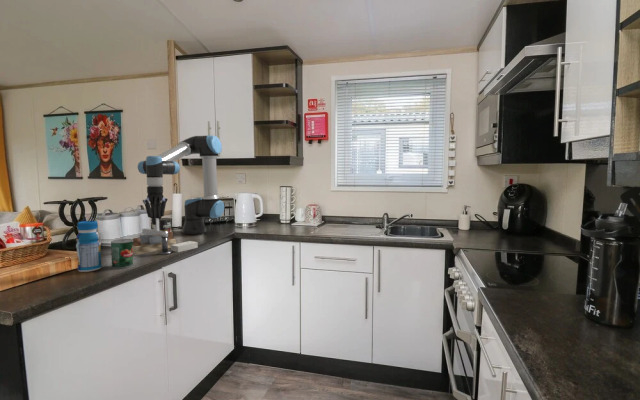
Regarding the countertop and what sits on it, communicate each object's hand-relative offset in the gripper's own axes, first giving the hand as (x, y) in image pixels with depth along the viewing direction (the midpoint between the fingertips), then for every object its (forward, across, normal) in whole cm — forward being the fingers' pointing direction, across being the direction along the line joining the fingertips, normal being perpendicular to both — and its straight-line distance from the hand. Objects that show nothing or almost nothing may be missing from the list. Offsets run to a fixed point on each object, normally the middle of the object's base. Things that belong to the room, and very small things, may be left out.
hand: (156, 230), depth 170 cm
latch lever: (+2, +4, +4) cm, 6 cm away
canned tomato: (+10, +27, +15) cm, 33 cm away
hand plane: (+10, +2, 0) cm, 10 cm away
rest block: (+10, -7, +13) cm, 18 cm away
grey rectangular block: (+6, +2, 0) cm, 6 cm away
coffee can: (+10, -11, -11) cm, 18 cm away
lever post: (+10, +4, +12) cm, 16 cm away
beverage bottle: (+10, +37, +9) cm, 39 cm away
